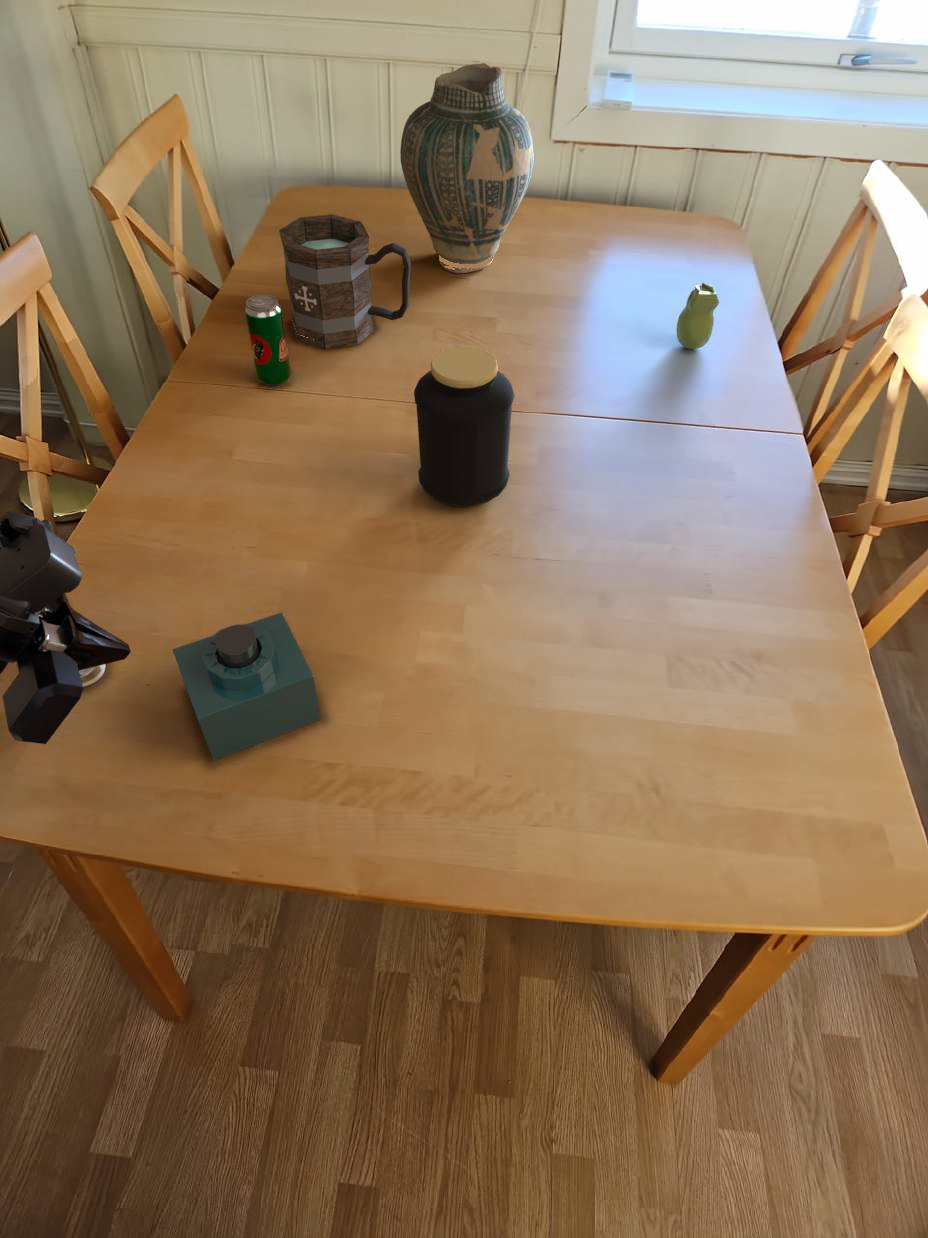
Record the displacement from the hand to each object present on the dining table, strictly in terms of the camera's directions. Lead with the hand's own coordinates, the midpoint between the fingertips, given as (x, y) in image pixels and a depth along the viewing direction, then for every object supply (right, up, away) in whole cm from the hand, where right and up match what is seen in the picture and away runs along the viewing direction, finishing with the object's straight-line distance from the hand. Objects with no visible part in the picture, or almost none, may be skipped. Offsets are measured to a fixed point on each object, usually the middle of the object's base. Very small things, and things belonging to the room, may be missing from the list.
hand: (127, 652), depth 70 cm
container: (+29, +20, +37) cm, 51 cm away
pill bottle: (-11, -3, +15) cm, 19 cm away
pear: (+65, +47, +62) cm, 101 cm away
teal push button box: (+8, -6, +13) cm, 16 cm away
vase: (+29, +68, +79) cm, 108 cm away
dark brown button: (+8, 0, +7) cm, 10 cm away
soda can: (0, +39, +52) cm, 65 cm away
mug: (+11, +50, +63) cm, 81 cm away
